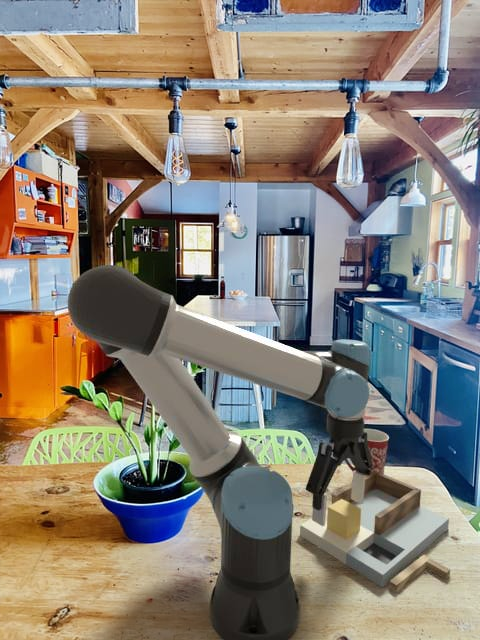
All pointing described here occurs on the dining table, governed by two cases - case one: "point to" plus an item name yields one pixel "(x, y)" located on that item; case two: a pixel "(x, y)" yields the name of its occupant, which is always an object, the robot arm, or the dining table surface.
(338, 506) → the block
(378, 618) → the dining table surface
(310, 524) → the board
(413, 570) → the crook tool
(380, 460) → the mug
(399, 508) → the cubby
